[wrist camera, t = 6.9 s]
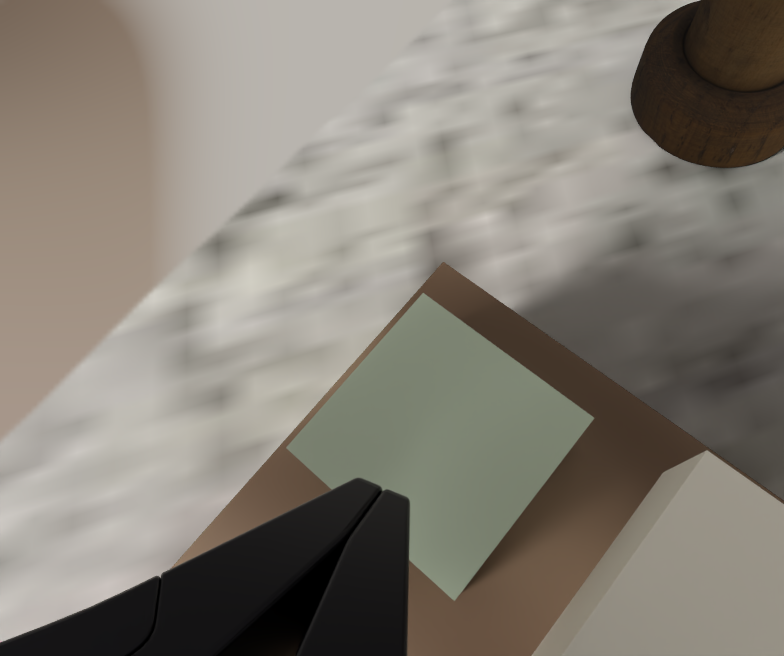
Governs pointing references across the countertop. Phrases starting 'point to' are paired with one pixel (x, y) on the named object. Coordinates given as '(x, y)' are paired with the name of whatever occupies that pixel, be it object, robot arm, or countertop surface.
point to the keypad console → (539, 519)
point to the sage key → (444, 437)
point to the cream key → (685, 574)
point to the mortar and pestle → (714, 82)
